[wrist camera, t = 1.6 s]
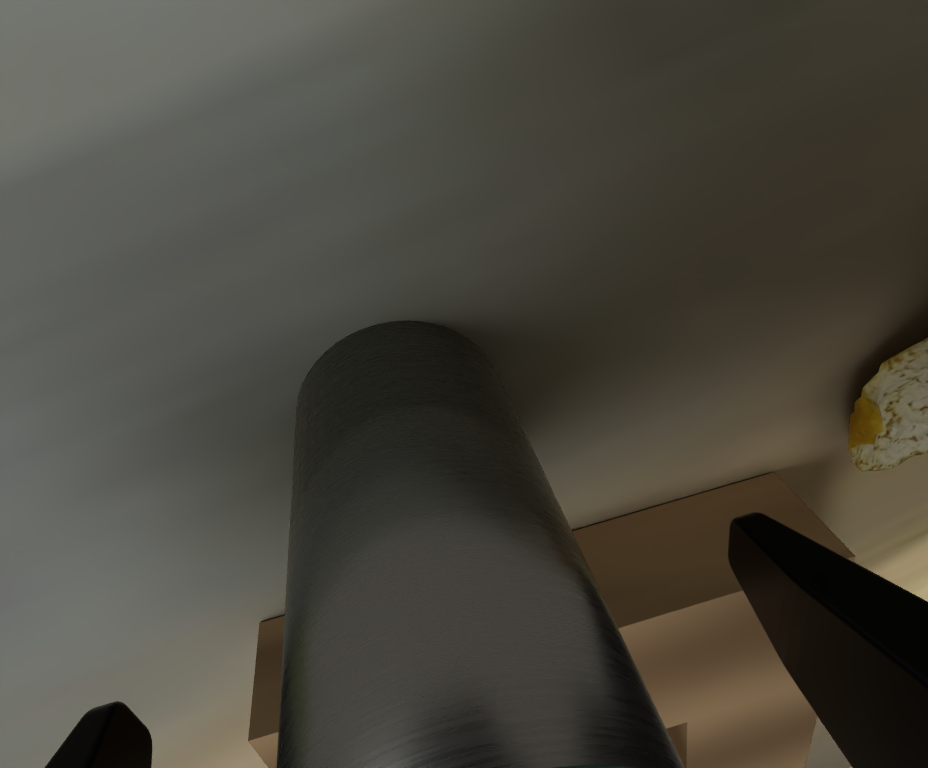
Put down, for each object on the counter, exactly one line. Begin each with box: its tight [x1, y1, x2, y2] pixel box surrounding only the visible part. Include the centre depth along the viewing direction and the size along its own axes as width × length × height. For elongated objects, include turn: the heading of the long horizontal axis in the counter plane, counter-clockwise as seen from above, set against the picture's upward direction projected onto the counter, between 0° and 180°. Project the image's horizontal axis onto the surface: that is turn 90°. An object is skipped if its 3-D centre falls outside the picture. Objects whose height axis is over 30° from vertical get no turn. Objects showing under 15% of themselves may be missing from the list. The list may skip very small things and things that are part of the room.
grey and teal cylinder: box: [276, 321, 684, 768], centre depth 9 cm, size 4×4×10 cm
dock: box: [248, 472, 855, 768], centre depth 19 cm, size 16×14×3 cm
